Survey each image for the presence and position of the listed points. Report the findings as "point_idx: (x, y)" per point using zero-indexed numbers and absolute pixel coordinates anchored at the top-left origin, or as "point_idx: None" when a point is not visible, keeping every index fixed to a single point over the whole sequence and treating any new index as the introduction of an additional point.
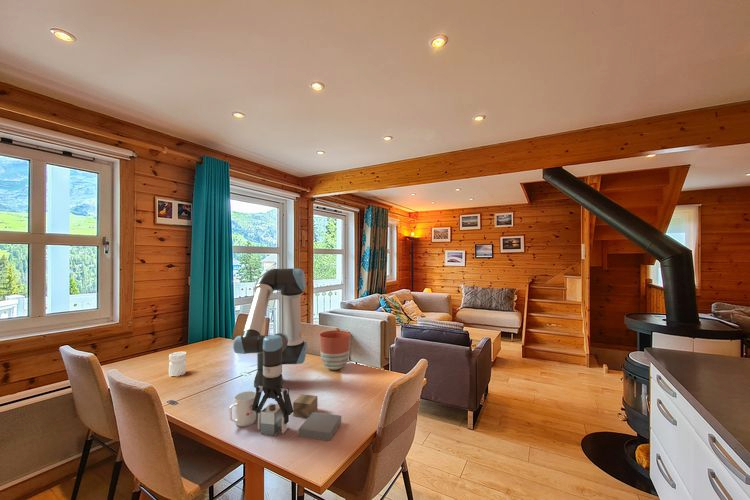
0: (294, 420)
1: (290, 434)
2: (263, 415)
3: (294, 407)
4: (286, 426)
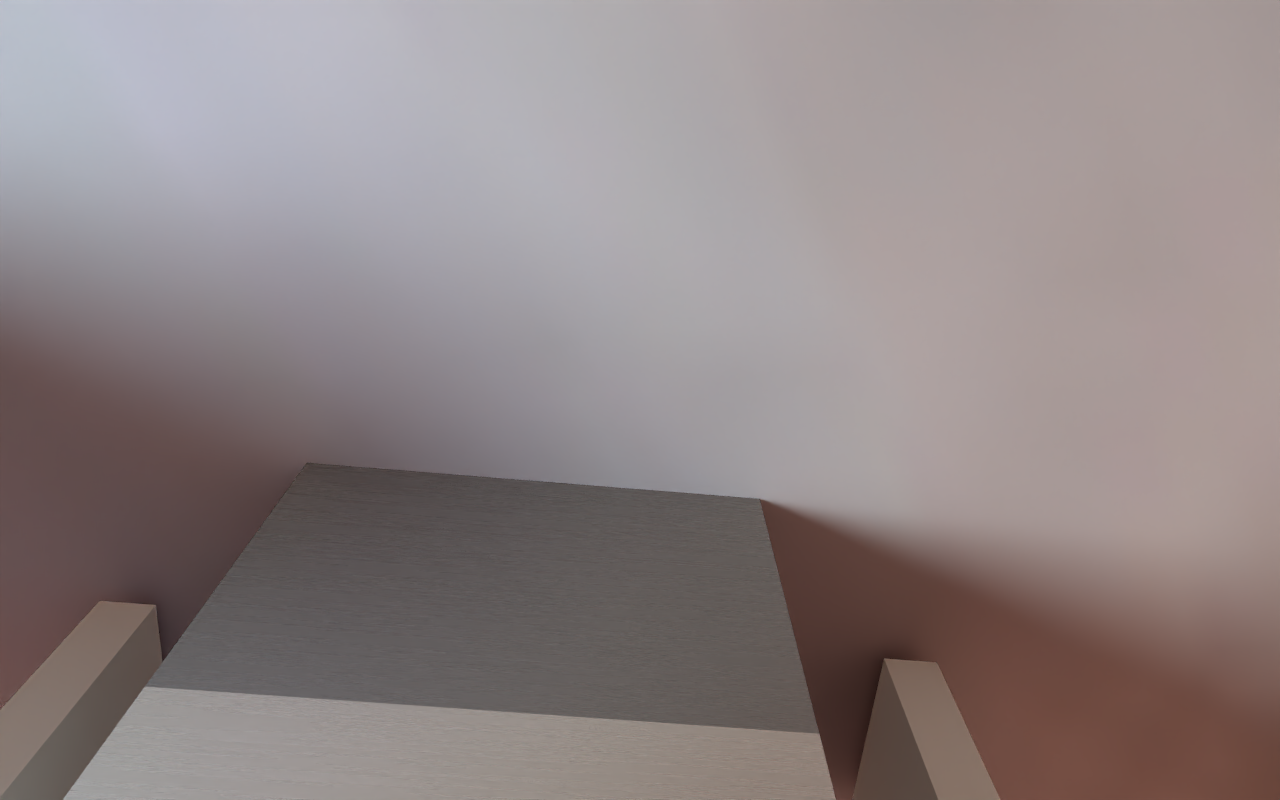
0: (1022, 109)
1: (1086, 787)
2: None
3: None
4: (962, 742)
